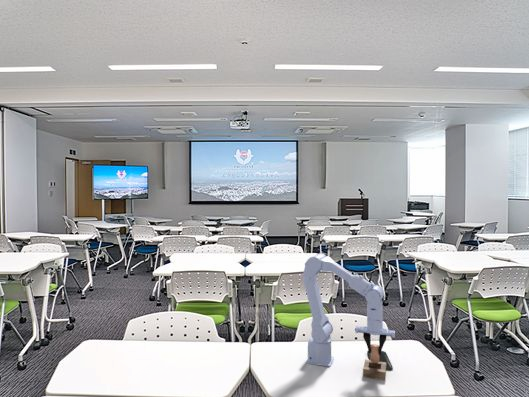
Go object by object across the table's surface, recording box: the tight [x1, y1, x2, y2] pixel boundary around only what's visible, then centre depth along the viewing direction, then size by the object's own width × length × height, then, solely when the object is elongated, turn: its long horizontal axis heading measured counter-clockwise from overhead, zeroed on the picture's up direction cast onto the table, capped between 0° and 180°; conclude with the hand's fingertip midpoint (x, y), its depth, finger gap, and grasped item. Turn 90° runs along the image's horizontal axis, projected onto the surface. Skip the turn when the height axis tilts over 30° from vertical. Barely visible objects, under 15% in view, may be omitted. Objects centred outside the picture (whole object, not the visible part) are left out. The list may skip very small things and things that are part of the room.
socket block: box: [362, 359, 387, 381], centre depth 142 cm, size 8×8×3 cm
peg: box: [371, 343, 379, 363], centre depth 142 cm, size 3×3×6 cm
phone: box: [366, 350, 394, 371], centre depth 152 cm, size 8×1×15 cm
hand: (374, 353), depth 142 cm, fingers closed on peg, 3 cm apart
